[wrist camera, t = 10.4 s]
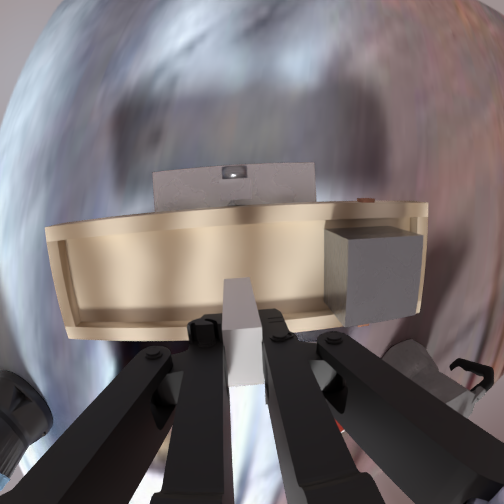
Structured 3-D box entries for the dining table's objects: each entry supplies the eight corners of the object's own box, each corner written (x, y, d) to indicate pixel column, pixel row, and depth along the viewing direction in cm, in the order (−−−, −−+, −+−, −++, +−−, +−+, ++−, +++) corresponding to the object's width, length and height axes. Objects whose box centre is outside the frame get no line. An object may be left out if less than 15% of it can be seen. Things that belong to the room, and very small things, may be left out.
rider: (323, 301, 24) (344, 327, 19) (323, 228, 22) (348, 239, 17) (386, 293, 24) (415, 314, 19) (389, 225, 23) (423, 235, 18)
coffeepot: (377, 402, 41) (423, 477, 23) (355, 372, 39) (409, 456, 21) (446, 346, 40) (511, 401, 22) (433, 309, 38) (511, 364, 20)
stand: (171, 320, 35) (150, 368, 24) (155, 172, 31) (120, 166, 21) (313, 309, 36) (343, 354, 25) (311, 163, 32) (347, 152, 22)
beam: (84, 325, 25) (69, 341, 22) (64, 219, 23) (44, 223, 19) (400, 302, 27) (418, 315, 23) (406, 197, 25) (428, 199, 21)
